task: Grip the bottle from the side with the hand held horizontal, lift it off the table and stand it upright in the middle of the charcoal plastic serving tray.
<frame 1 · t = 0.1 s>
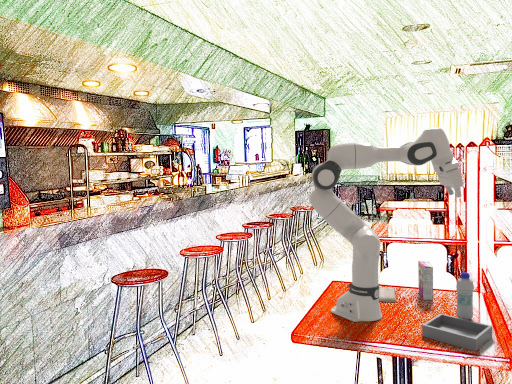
hand: (455, 195, 191), 52 cm above the table, tool tilted 20°, fingers open, 8 cm apart
candy bar box: (425, 297, 222), on the table
serving tray: (456, 336, 175), on the table
washcloth: (382, 297, 225), on the table
bottle: (464, 319, 193), on the table
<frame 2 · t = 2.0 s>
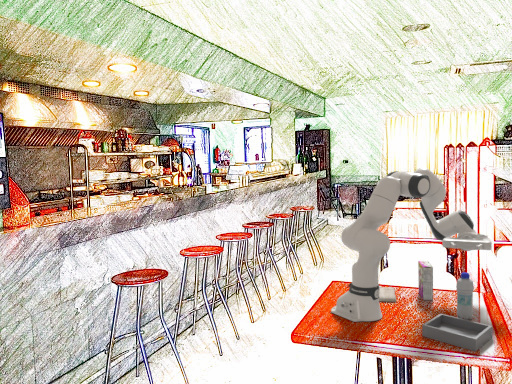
hand: (466, 247, 201), 28 cm above the table, tool horizontal, fingers open, 8 cm apart
nothing on the table moved.
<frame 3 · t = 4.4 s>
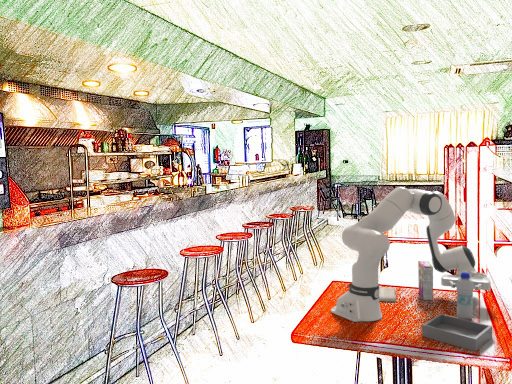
hand: (465, 287, 200), 11 cm above the table, tool horizontal, fingers open, 8 cm apart
nothing on the table moved.
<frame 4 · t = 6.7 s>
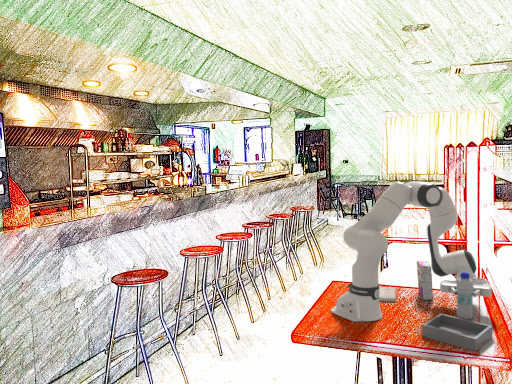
hand: (464, 293, 191), 11 cm above the table, tool horizontal, fingers closed on bottle, 6 cm apart
candy bar box: (425, 296, 222), on the table, touching arm
bottle: (464, 319, 193), on the table, touching gripper
everything else where it was.
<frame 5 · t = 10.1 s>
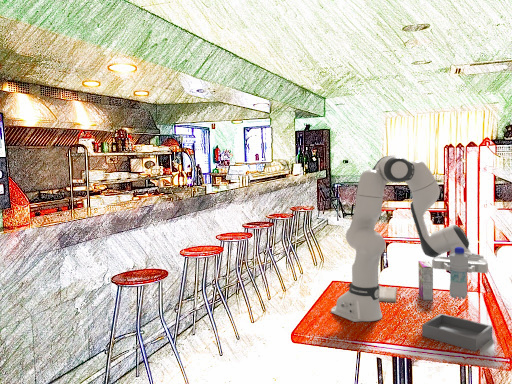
hand: (458, 269, 176), 26 cm above the table, tool horizontal, fingers closed on bottle, 6 cm apart
candy bar box: (425, 297, 222), on the table
bottle: (458, 298, 178), point 14 cm above the table, touching gripper
everything else where it was.
when the fingers open (13 cm above the table, at t = 13.5 s): bottle drops 1 cm, resting on serving tray.
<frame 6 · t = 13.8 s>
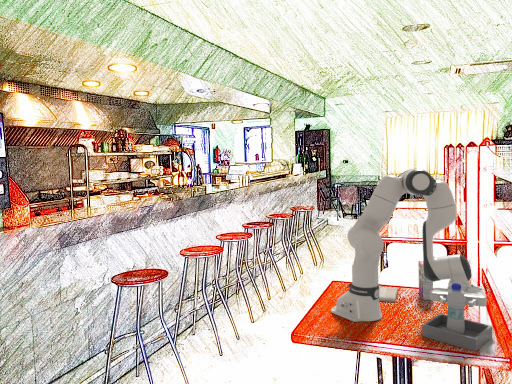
hand: (457, 303, 173), 13 cm above the table, tool horizontal, fingers open, 8 cm apart
bottle: (455, 334, 176), point 1 cm above the table, touching serving tray
everything else where it was.
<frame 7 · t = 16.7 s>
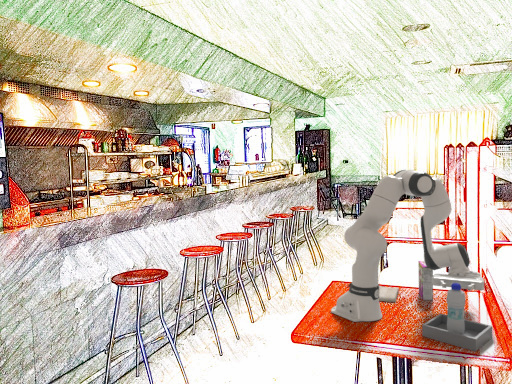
hand: (456, 287, 186), 15 cm above the table, tool horizontal, fingers open, 8 cm apart
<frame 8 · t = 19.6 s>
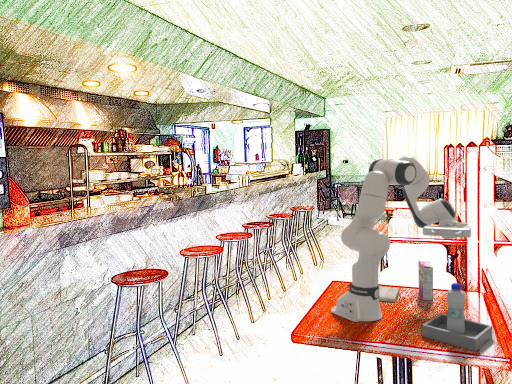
hand: (445, 234, 201), 34 cm above the table, tool horizontal, fingers open, 8 cm apart
at the end: bottle inside the target area on the serving tray (0.5 cm from its centre), point 0.8 cm above the serving tray's base; bottle tilted 0°; the gripper is holding nothing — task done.
